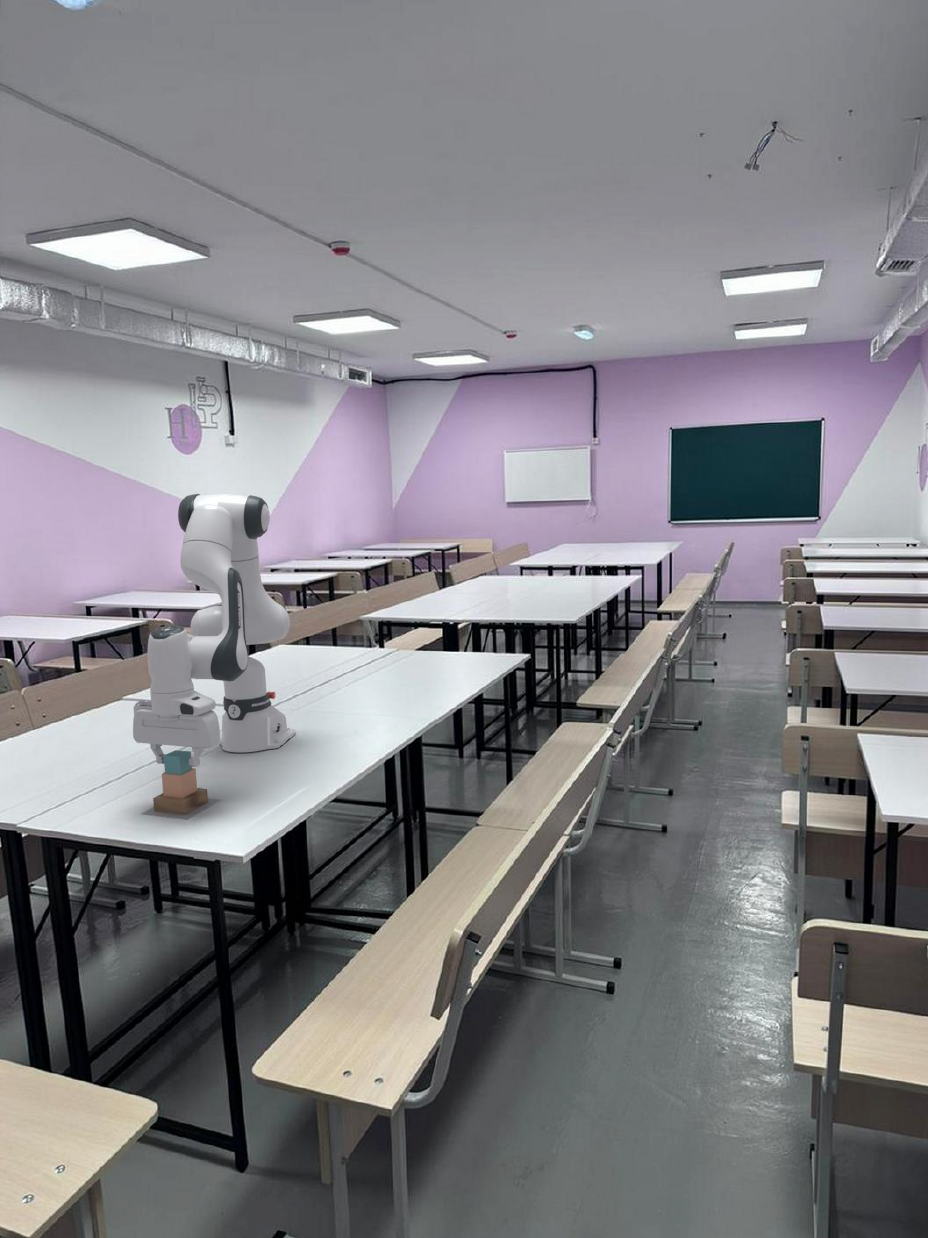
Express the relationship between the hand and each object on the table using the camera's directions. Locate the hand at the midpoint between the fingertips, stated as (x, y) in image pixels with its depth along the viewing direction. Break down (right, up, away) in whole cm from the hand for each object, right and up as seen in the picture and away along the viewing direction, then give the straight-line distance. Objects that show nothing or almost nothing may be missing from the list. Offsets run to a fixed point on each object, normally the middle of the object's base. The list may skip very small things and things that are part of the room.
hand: (178, 764), depth 182 cm
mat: (0, -10, +1) cm, 10 cm away
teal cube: (0, -2, 0) cm, 2 cm away
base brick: (0, -9, +1) cm, 10 cm away
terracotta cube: (0, -6, +1) cm, 7 cm away
